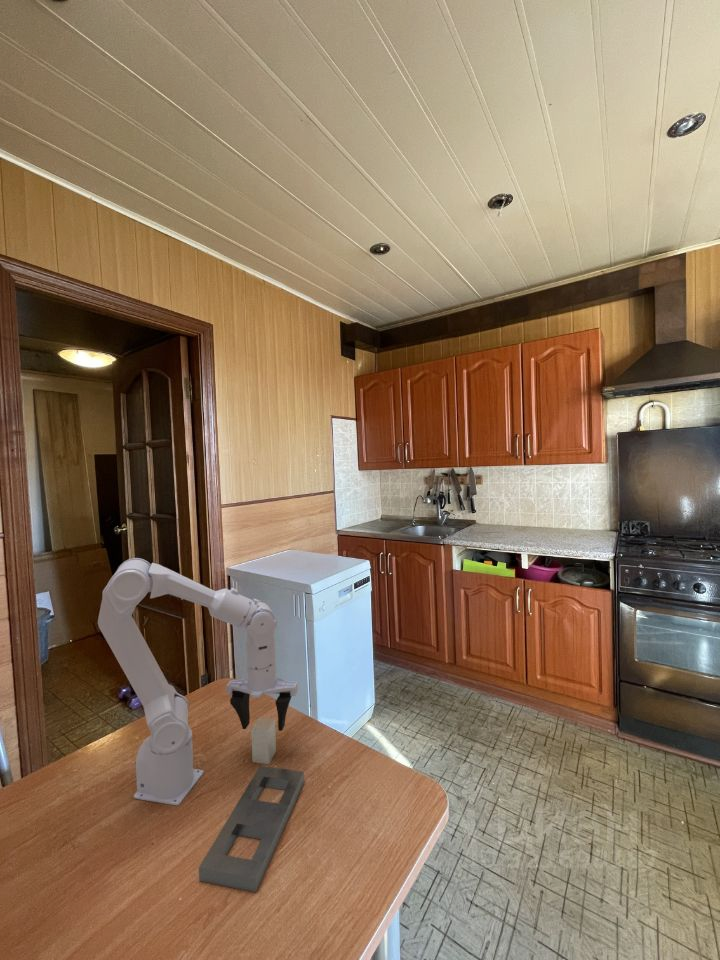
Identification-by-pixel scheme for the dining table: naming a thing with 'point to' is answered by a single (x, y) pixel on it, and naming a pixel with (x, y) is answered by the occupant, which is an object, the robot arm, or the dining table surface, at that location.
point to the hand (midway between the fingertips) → (263, 726)
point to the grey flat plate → (252, 830)
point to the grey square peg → (263, 740)
